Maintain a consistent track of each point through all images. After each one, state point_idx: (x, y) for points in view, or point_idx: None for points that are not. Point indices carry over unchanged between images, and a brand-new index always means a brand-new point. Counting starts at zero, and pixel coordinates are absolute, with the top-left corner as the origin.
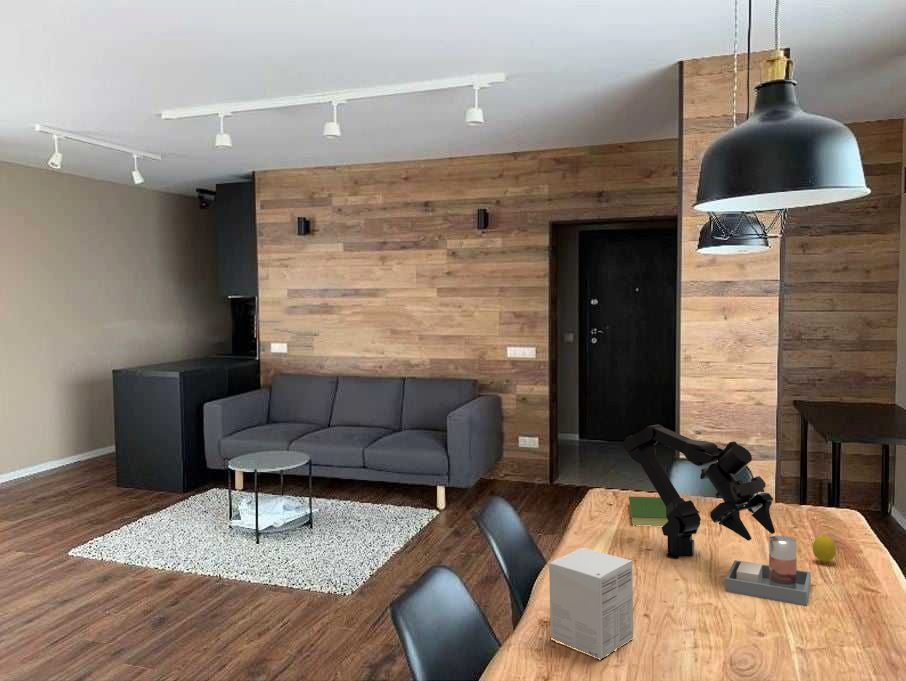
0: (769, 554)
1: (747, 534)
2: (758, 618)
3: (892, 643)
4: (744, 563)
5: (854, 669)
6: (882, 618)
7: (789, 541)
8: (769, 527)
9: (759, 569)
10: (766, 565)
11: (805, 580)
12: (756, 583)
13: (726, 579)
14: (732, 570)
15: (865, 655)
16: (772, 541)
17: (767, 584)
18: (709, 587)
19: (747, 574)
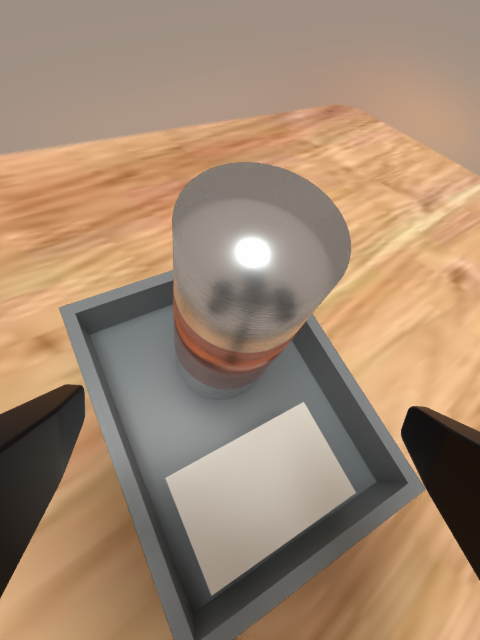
0: (293, 335)
1: (465, 427)
2: (409, 317)
3: (258, 122)
4: (233, 550)
5: (397, 138)
6: (155, 154)
7: (254, 189)
8: (57, 440)
9: (243, 439)
10: (124, 481)
11: (87, 333)
12: (348, 375)
13: (420, 483)
14: (328, 544)
15: (342, 138)
16: (349, 254)
17: (202, 428)
18: (394, 583)
19: (326, 444)
